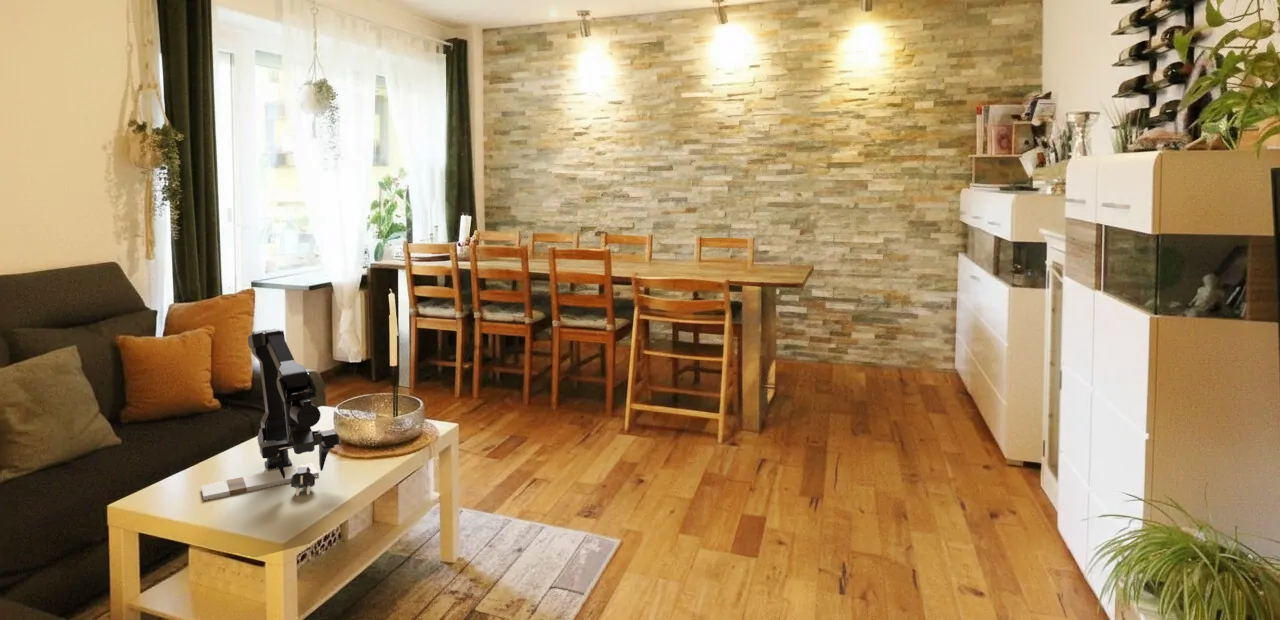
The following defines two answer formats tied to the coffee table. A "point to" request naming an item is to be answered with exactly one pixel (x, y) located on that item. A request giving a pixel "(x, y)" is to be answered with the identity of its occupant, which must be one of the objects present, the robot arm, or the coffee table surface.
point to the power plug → (303, 479)
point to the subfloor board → (251, 482)
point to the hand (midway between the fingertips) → (302, 474)
